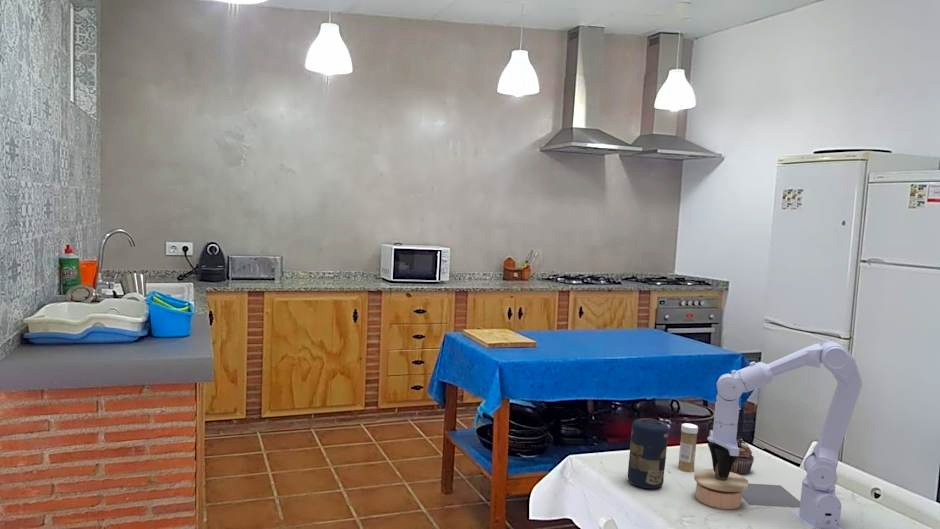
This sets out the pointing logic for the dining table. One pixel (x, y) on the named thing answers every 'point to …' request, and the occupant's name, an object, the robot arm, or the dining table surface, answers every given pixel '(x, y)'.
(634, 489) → the dining table surface
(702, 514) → the dining table surface
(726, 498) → the bowl
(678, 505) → the dining table surface
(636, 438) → the navy canister
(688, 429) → the sprinkles bottle
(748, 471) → the cupcake
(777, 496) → the mat
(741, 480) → the lid
